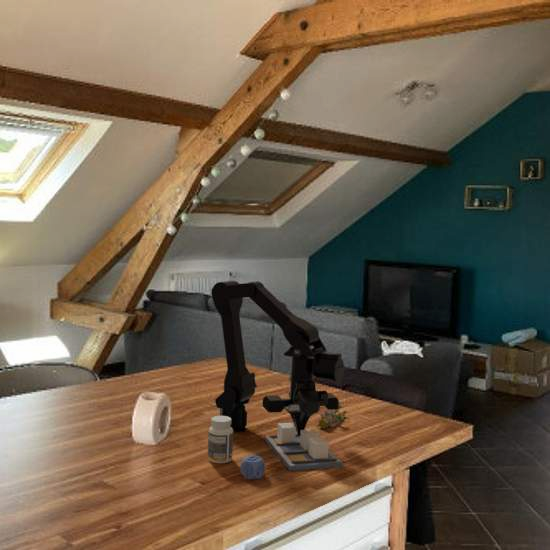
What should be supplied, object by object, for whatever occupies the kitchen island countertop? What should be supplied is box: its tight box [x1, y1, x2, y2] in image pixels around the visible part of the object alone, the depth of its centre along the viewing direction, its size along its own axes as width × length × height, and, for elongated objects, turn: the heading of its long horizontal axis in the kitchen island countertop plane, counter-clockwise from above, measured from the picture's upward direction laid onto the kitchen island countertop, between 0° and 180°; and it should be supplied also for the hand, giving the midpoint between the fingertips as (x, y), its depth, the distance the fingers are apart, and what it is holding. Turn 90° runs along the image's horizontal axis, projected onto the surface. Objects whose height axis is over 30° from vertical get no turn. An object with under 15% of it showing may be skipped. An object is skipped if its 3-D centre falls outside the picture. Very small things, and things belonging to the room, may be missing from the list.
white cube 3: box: [276, 422, 297, 443], centre depth 172 cm, size 4×4×4 cm
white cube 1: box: [308, 436, 330, 459], centre depth 161 cm, size 4×4×4 cm
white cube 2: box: [300, 428, 320, 450], centre depth 167 cm, size 4×4×4 cm
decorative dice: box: [240, 455, 266, 480], centre depth 151 cm, size 4×4×4 cm
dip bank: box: [263, 433, 344, 472], centre depth 167 cm, size 13×21×1 cm, turn 17°
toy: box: [317, 404, 348, 430], centre depth 191 cm, size 5×5×15 cm
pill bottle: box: [207, 415, 234, 464], centre depth 159 cm, size 6×6×10 cm
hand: (299, 435), depth 173 cm, fingers closed
